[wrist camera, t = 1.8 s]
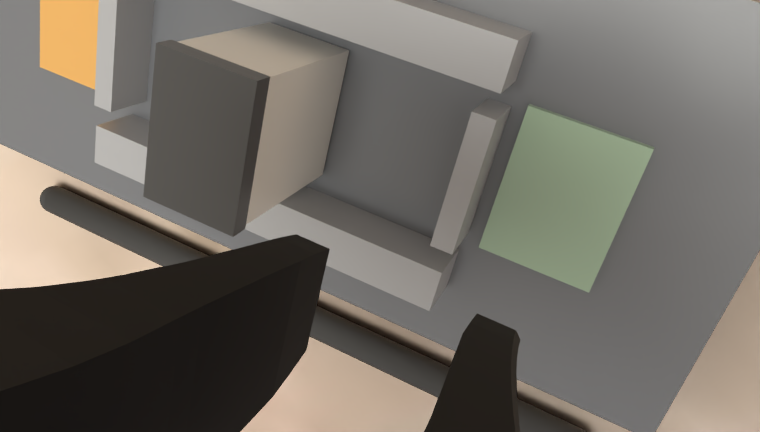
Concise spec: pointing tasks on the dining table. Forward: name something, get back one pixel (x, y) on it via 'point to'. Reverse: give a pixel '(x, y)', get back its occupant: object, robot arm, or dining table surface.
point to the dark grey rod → (327, 327)
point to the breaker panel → (467, 164)
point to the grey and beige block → (239, 121)
